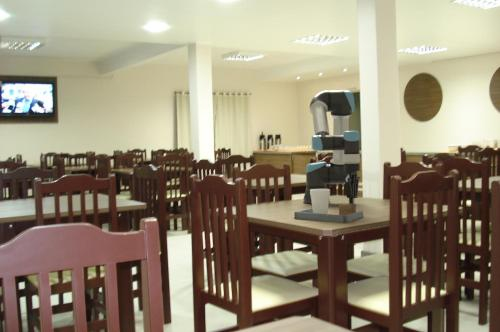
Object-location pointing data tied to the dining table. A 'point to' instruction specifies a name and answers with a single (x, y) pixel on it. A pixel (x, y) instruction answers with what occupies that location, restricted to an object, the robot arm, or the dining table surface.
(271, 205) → the dining table surface
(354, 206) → the walnut block
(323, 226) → the dining table surface
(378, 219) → the dining table surface
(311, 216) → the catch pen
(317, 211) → the foam cup
